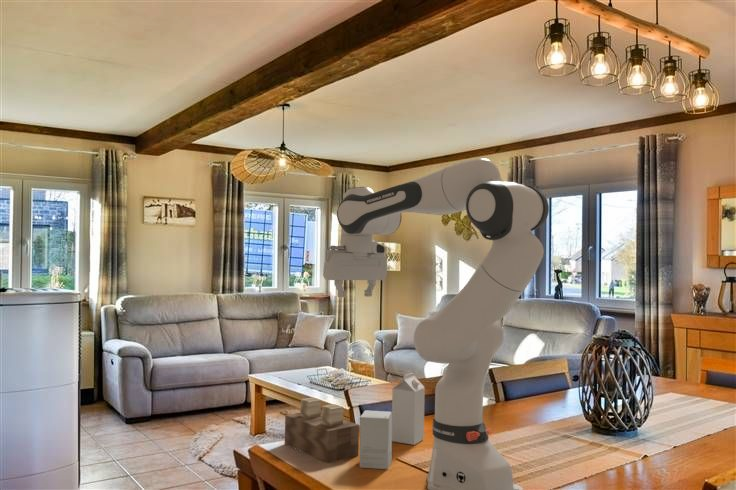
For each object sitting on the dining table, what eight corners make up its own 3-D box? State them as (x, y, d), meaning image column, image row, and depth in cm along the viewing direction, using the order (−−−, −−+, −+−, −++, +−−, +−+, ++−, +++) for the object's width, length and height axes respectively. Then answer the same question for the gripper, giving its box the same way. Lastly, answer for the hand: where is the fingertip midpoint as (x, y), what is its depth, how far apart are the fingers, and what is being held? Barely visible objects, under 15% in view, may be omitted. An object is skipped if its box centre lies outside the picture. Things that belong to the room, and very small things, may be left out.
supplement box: (392, 460, 157) (393, 411, 158) (387, 470, 150) (388, 418, 150) (363, 458, 159) (364, 409, 159) (358, 467, 151) (359, 416, 152)
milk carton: (391, 441, 174) (392, 374, 175) (401, 435, 180) (402, 370, 181) (414, 445, 171) (415, 377, 171) (424, 439, 177) (425, 373, 178)
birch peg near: (342, 433, 162) (343, 406, 162) (330, 436, 159) (331, 409, 159) (333, 430, 165) (334, 404, 165) (321, 432, 162) (322, 406, 162)
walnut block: (358, 455, 161) (359, 424, 161) (327, 462, 155) (328, 430, 155) (314, 438, 176) (314, 409, 176) (284, 444, 170) (285, 415, 170)
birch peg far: (320, 425, 169) (321, 400, 169) (308, 427, 167) (309, 401, 167) (312, 422, 172) (312, 397, 172) (300, 424, 170) (300, 399, 170)
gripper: (333, 245, 160) (331, 298, 159) (391, 247, 173) (389, 296, 173) (319, 245, 164) (317, 296, 164) (376, 247, 178) (375, 295, 177)
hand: (355, 296), depth 168 cm, fingers open, 8 cm apart
